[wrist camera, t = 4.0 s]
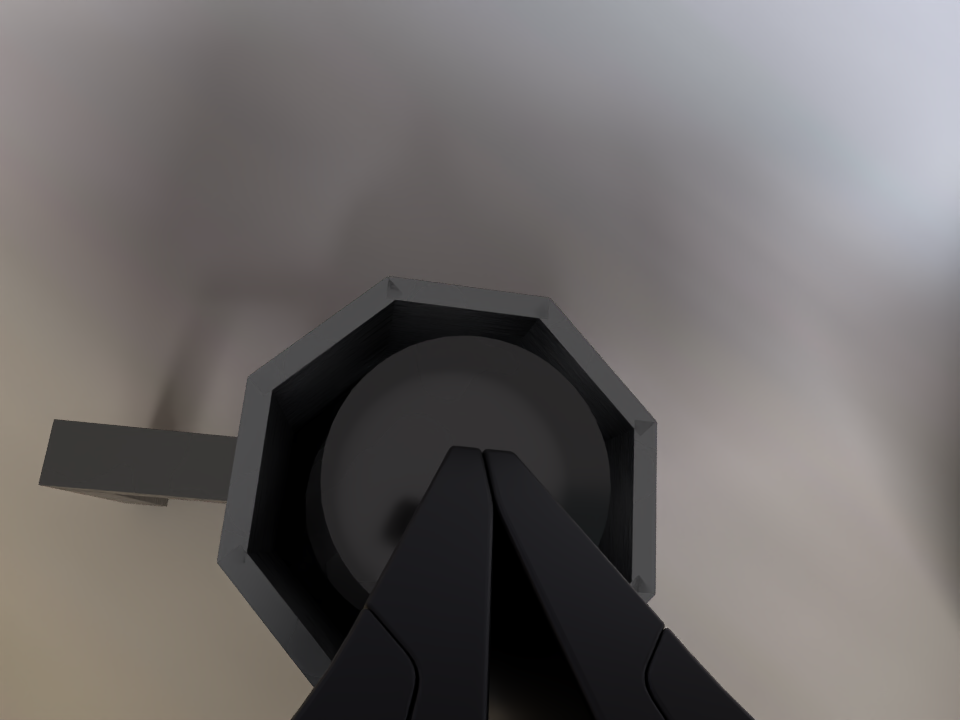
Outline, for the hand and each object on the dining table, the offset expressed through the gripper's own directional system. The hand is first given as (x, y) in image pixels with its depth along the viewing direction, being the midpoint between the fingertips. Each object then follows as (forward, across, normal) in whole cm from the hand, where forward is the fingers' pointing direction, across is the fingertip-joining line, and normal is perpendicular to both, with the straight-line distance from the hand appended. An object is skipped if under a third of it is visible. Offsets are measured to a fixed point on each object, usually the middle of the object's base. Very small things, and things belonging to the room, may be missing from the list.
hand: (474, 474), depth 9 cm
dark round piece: (+4, 0, +4) cm, 6 cm away
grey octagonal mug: (+5, +1, +5) cm, 7 cm away
